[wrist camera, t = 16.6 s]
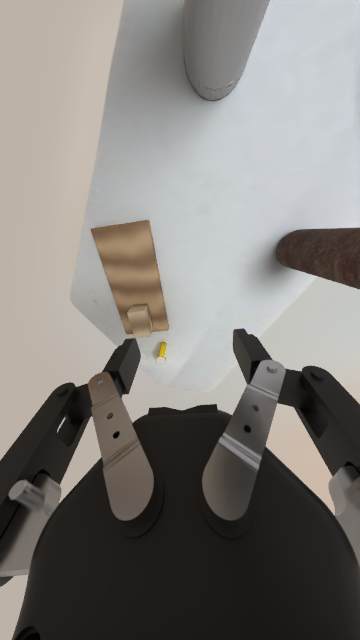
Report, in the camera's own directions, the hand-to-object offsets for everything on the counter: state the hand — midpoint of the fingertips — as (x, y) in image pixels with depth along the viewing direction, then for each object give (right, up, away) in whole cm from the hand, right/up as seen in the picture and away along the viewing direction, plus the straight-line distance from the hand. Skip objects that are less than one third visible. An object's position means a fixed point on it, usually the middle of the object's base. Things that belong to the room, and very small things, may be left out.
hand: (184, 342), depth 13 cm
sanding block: (-10, +3, +29) cm, 31 cm away
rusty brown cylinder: (+24, +18, +22) cm, 37 cm away
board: (-11, +10, +26) cm, 31 cm away
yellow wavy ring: (-6, -7, +36) cm, 37 cm away
